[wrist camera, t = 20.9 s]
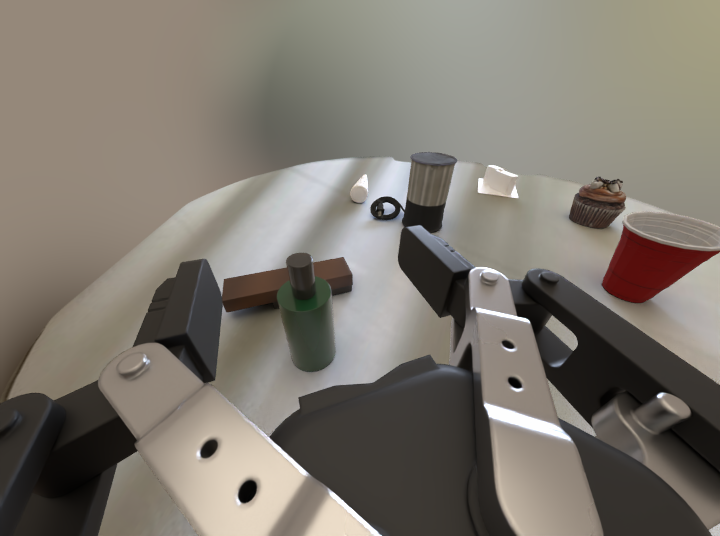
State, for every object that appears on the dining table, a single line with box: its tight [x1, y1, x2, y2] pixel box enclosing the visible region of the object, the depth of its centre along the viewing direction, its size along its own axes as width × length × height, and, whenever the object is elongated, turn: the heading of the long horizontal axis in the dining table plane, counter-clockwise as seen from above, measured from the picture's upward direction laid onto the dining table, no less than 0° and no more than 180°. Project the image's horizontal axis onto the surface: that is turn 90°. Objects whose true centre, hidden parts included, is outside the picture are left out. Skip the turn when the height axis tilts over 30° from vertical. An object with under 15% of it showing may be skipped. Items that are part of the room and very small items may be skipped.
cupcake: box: [569, 177, 626, 228], centre depth 60 cm, size 10×10×10 cm
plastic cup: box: [602, 211, 720, 303], centre depth 38 cm, size 11×11×12 cm
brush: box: [222, 257, 353, 312], centre depth 39 cm, size 18×5×4 cm, turn 110°
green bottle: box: [277, 253, 336, 372], centre depth 27 cm, size 5×5×14 cm
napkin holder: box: [478, 165, 518, 198], centre depth 79 cm, size 15×11×6 cm
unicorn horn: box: [350, 175, 368, 203], centre depth 77 cm, size 5×24×5 cm, turn 171°
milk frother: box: [371, 152, 457, 232], centre depth 57 cm, size 14×16×15 cm
